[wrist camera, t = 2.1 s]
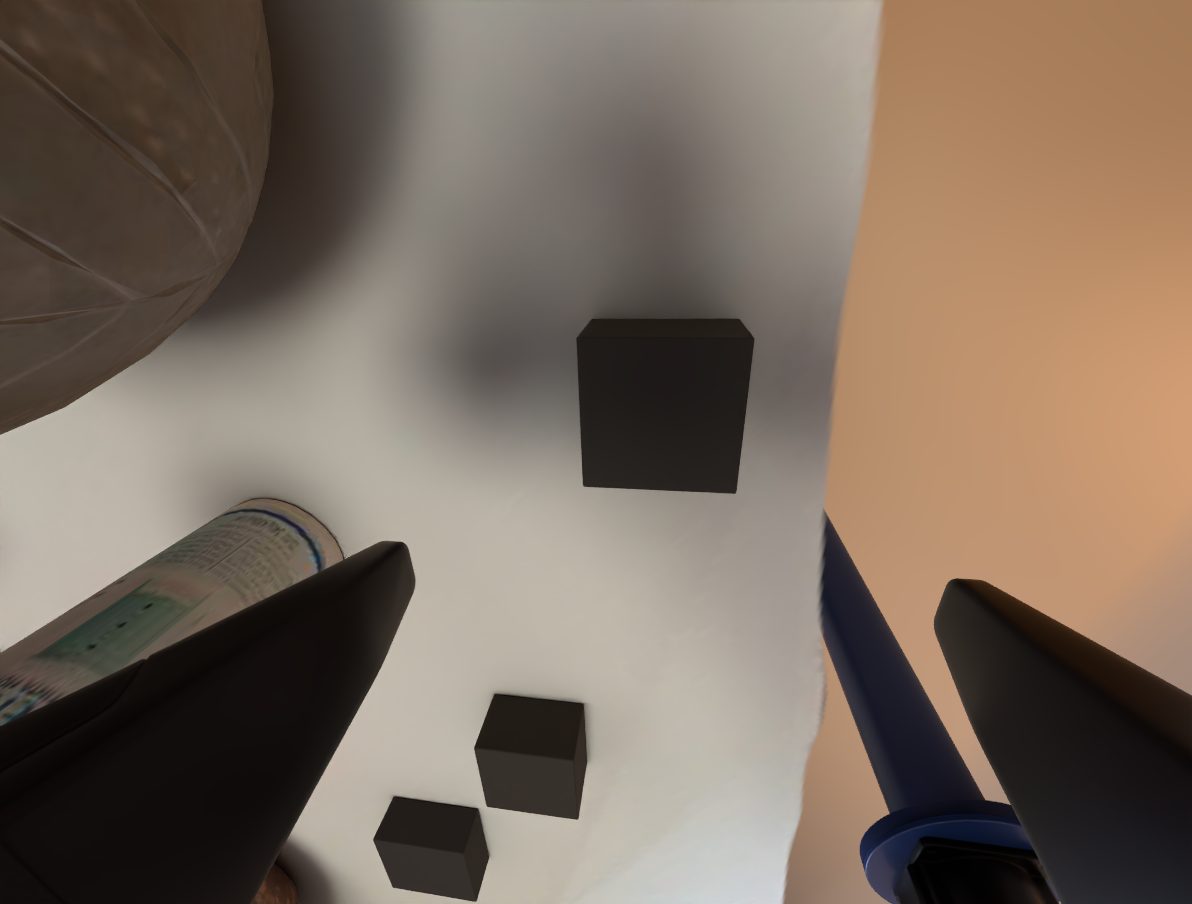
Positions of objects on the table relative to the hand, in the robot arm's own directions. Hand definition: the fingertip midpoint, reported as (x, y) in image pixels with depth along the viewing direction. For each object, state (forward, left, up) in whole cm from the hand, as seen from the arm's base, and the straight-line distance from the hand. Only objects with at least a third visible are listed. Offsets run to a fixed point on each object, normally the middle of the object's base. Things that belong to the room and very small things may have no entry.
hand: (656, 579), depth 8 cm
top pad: (+6, +20, -10) cm, 23 cm away
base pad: (+14, +32, -10) cm, 36 cm away
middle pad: (0, 0, -10) cm, 10 cm away
